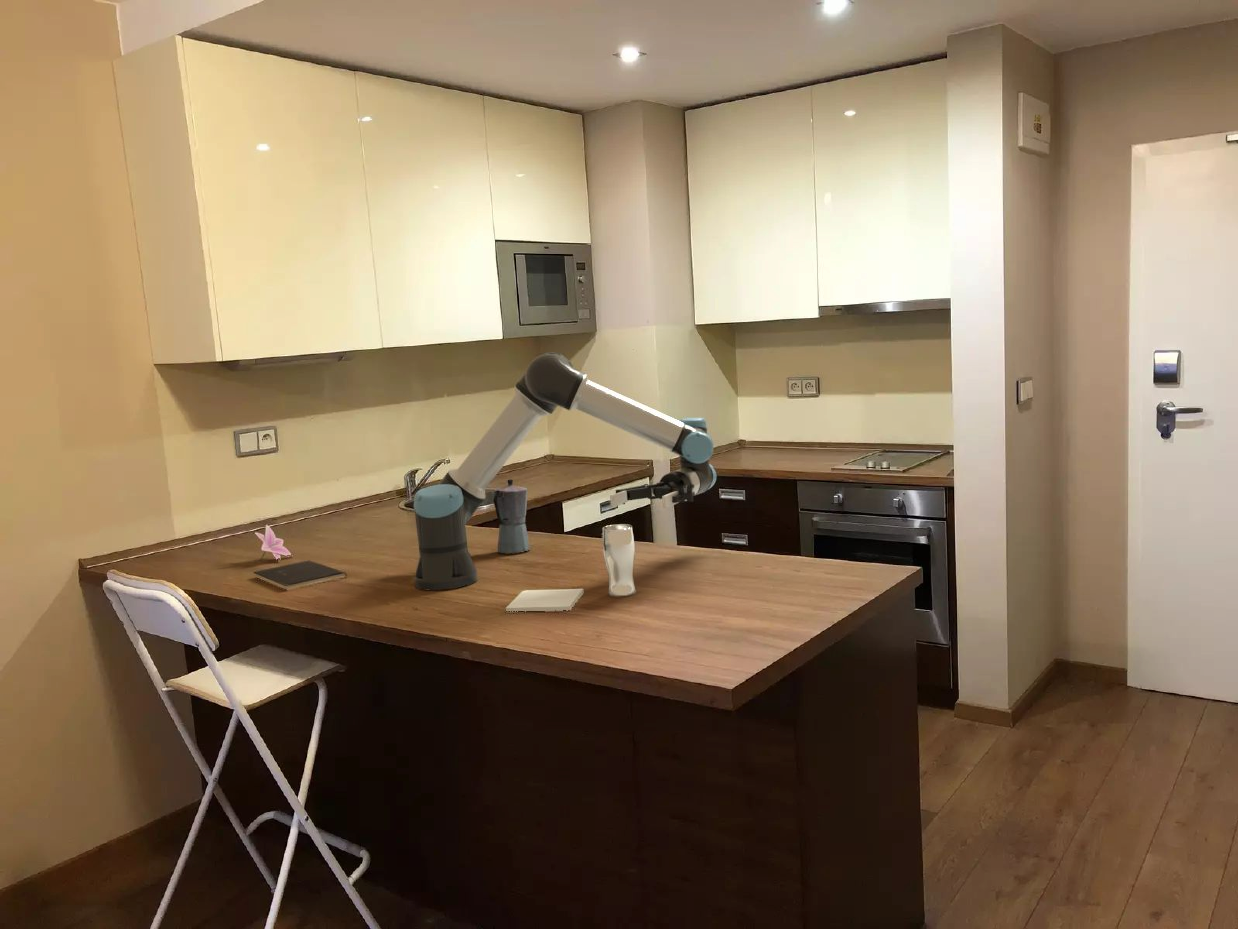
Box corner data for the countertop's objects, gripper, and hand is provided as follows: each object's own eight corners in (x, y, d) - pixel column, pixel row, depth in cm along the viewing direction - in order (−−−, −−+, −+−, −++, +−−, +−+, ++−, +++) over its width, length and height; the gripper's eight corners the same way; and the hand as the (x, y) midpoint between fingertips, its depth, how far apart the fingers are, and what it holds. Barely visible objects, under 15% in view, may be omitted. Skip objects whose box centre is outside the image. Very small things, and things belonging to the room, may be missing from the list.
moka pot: (541, 545, 276) (535, 475, 273) (517, 558, 261) (511, 484, 259) (510, 545, 279) (504, 476, 276) (485, 558, 264) (478, 485, 262)
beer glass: (605, 590, 221) (600, 525, 220) (636, 587, 222) (631, 522, 220) (607, 598, 215) (602, 531, 213) (639, 595, 215) (634, 528, 213)
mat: (506, 612, 210) (505, 607, 210) (523, 594, 223) (523, 590, 223) (570, 610, 207) (569, 606, 207) (583, 593, 221) (583, 588, 221)
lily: (257, 571, 275) (270, 541, 274) (235, 552, 281) (248, 522, 280) (292, 574, 285) (305, 545, 284) (270, 555, 291) (283, 527, 290)
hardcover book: (286, 593, 244) (285, 584, 244) (254, 580, 262) (253, 571, 261) (347, 580, 254) (346, 571, 254) (312, 567, 272) (311, 559, 271)
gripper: (726, 501, 237) (687, 519, 218) (635, 500, 249) (592, 516, 231) (724, 470, 236) (685, 485, 217) (633, 471, 248) (589, 485, 230)
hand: (637, 501), depth 224 cm, fingers open, 13 cm apart
